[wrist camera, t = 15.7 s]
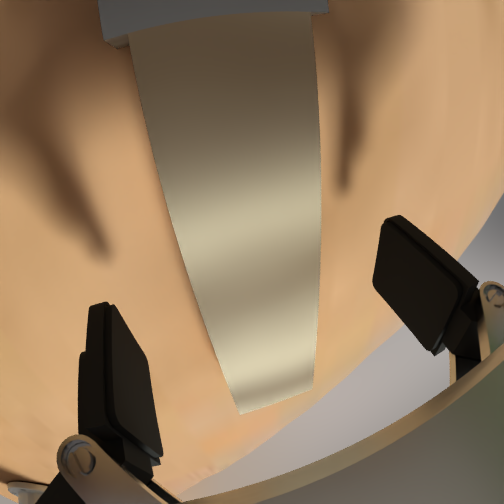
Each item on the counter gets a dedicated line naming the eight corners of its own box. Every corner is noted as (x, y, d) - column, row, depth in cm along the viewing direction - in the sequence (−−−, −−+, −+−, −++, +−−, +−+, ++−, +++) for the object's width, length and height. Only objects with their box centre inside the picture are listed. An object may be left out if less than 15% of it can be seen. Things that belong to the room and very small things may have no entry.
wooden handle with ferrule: (298, 345, 17) (320, 385, 15) (216, 372, 16) (230, 417, 14) (257, -113, 4) (294, -150, 2) (101, -97, 3) (92, -140, 1)
